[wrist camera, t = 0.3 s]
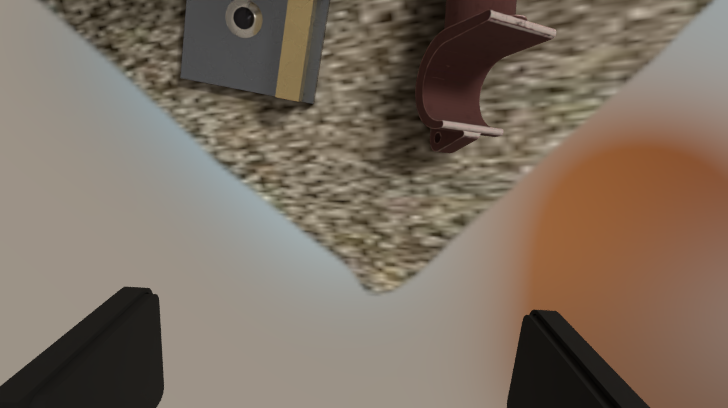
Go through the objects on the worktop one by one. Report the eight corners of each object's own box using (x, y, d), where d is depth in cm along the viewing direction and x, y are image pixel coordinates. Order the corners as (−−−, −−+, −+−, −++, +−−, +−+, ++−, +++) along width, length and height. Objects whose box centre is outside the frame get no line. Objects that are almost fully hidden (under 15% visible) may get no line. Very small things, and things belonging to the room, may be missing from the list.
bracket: (407, 150, 37) (482, 140, 27) (419, -42, 36) (499, -116, 27) (462, 155, 39) (547, 149, 30) (474, -23, 38) (565, -86, 29)
